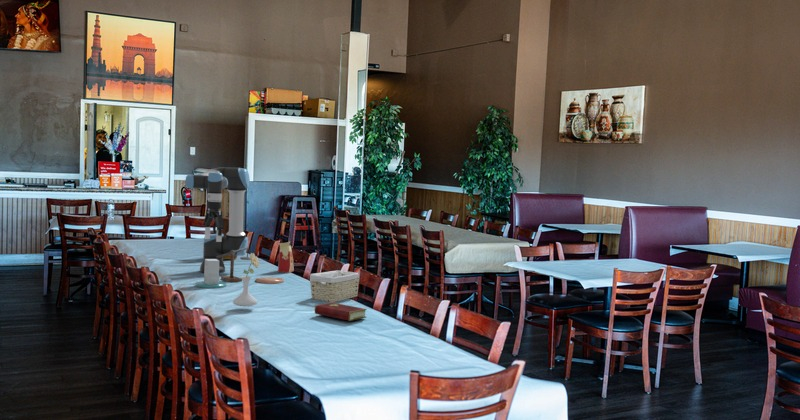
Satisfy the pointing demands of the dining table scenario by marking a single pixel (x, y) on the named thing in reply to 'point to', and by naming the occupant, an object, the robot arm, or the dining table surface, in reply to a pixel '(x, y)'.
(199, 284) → the teal dish
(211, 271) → the small box
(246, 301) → the flower in vase
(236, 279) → the balance
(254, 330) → the dining table surface
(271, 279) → the terracotta dish
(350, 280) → the storage basket
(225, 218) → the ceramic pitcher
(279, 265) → the milk carton
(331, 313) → the hardcover book
